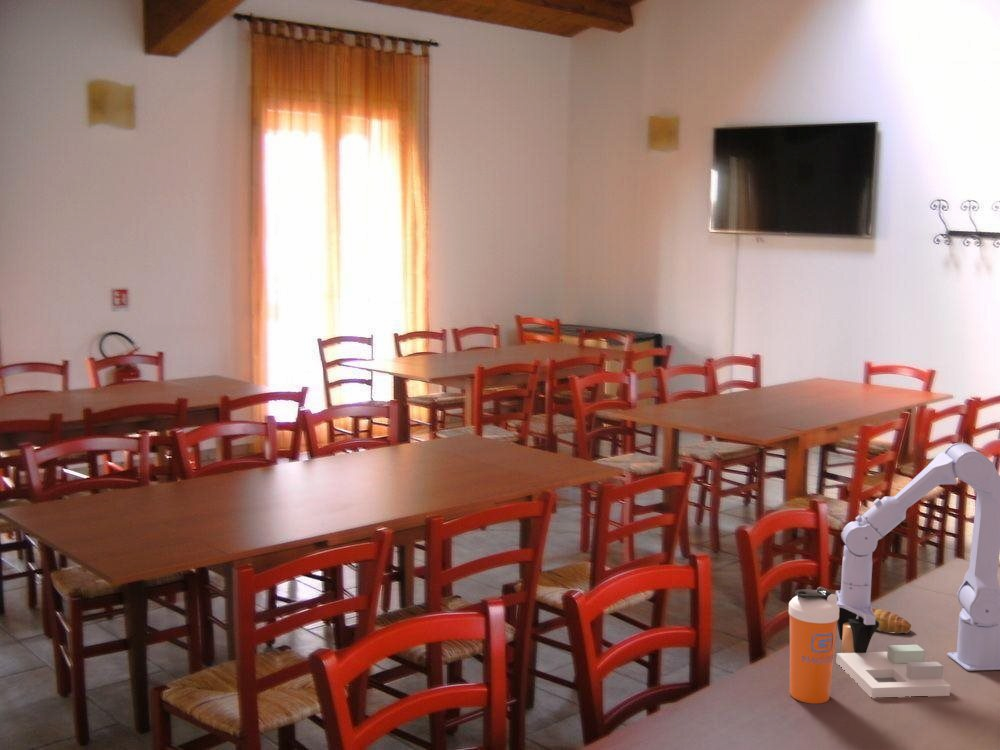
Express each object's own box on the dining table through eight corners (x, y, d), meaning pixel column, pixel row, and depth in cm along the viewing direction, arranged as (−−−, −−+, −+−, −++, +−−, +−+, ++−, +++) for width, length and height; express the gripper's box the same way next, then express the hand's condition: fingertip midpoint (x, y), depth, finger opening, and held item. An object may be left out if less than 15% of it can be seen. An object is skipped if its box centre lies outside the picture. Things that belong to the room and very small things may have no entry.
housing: (908, 660, 207) (909, 639, 206) (949, 695, 191) (951, 672, 191) (836, 662, 206) (837, 641, 205) (871, 698, 190) (872, 675, 189)
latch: (916, 656, 204) (917, 644, 203) (923, 662, 201) (924, 650, 200) (887, 657, 203) (887, 645, 203) (894, 663, 200) (894, 651, 200)
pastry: (913, 629, 224) (915, 612, 224) (905, 639, 219) (906, 622, 218) (869, 619, 230) (870, 603, 229) (860, 629, 224) (861, 612, 224)
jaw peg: (857, 649, 212) (858, 622, 211) (865, 657, 208) (867, 629, 207) (838, 650, 212) (839, 622, 211) (846, 658, 208) (848, 629, 207)
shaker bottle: (774, 689, 193) (779, 586, 190) (812, 681, 197) (817, 580, 194) (806, 709, 185) (811, 602, 182) (845, 701, 189) (851, 596, 186)
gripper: (822, 570, 215) (819, 632, 216) (852, 594, 200) (848, 660, 202) (855, 569, 215) (851, 632, 217) (887, 593, 201) (883, 660, 203)
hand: (852, 646), depth 210 cm, fingers open, 6 cm apart
